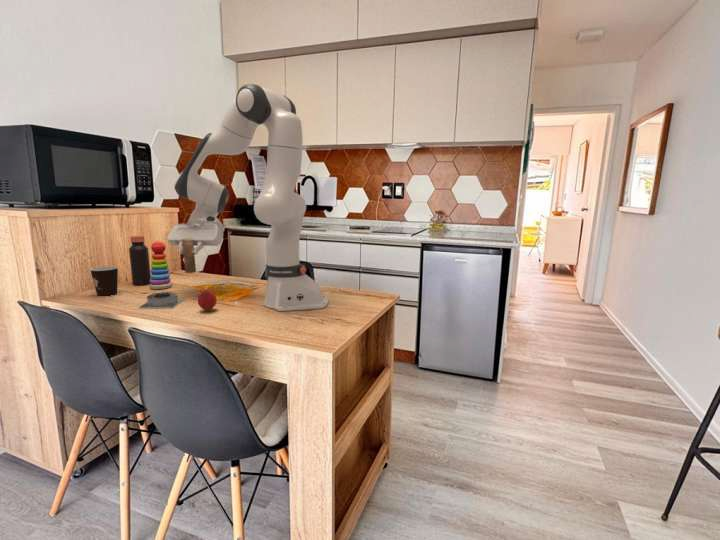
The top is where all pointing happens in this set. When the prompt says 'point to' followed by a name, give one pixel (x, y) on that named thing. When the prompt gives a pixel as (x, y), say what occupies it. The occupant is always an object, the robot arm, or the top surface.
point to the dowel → (188, 256)
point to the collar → (162, 300)
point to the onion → (207, 299)
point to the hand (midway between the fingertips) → (187, 253)
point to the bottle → (139, 261)
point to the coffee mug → (105, 280)
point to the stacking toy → (159, 267)
